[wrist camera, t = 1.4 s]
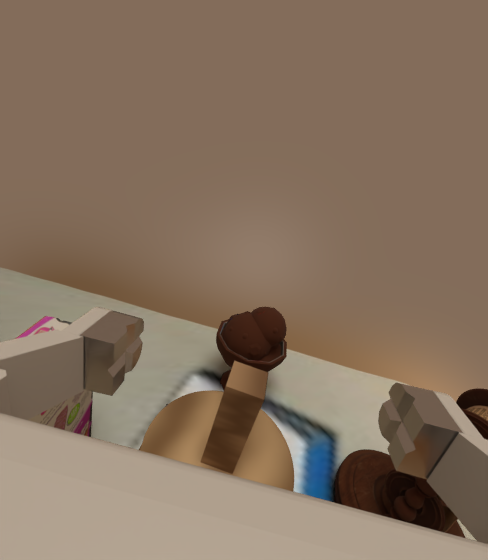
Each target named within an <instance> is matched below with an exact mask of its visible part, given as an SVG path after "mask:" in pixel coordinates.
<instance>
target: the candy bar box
mask: <svg viewBox="0 0 488 560" xmlns="http://www.w3.org/2000/svg"><path fill="white" fill-rule="evenodd" d="M70 324H72V323H71V322H67V321H60V319H58V318H54V317H48V316H45V317H43V318H42V319H41V320H39V321H38V322H37V323H35V324H34V325H33V326H32V327H30V328H29V329H27V330H26V331H25V332H24V333H22V334H21V335H20V336H18V337H17V338H22V337H26V336H31V335H35V334H39V333H44V332H48V331H52V330H59V331H62V330H63V329H64V328H66V327H67V326H69V325H70ZM17 338H16V339H17ZM92 392H93V391H89V390H83V391H82V392H80V393H79V394H77V395H75V396H73V397H71V398H69V399H67V400H65V401H63V402H61V403H59V404H57V405H56V406H54V407H52V408H50V409H48V410H46V411H44V412H42V413H40V414H38V415H36V416H35V417H33V418H31V419H29V421H32V422H36V423H40V424H44V425H47V426H51V427H55V428H58V429H62V430H66V431H70V432H73V433H77V434H81V435H84V436H88V437H91V423H92V394H93V393H92Z"/></svg>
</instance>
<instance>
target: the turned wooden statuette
mask: <svg viewBox="0 0 488 560" xmlns="http://www.w3.org/2000/svg"><path fill="white" fill-rule="evenodd" d="M456 404H457V405H458V406H459V407H460V409H461V410H462V411H463V412H464V414H465V415H466V416H467V418H468V419H469V420H470V421H471V423H472V424H473V425H474V427H475V428H476V429H477V430H478V432H479V433H480V434H481V435H482V437H483V438H484V439H486V440H488V390H487V389H472V390H468V391H466V392H464V393H463V394H461V395H460V396H459V398H458V400H457V402H456ZM334 502H335V503H337V504H341V505H345V506H348V507H352V508H356V509H359V510H363V511H367V512H370V513H374V514H378V515H381V516H385V517H389V518H392V519H396V520H400V521H404V522H407V523H411V524H415V525H418V526H422V527H426V528H429V529H433V530H437V531H440V532H444V533H448V534H452V535H455V536H459V537H463V538H465V536H464V534H463V531H462V529H461V528H460V526H459V524H458V522H457V519H458V518H457V517H456V515H455V514H454V513H453V512H452V511H451V510H450V508H449V507H448V506H447V505H446V504H445V502H444V501H443V500H442V499H441V498H440V496H439V495H438V494H437V493H436V492H435V491H434V489H433V488H432V487H431V486H430V485H429V483H428V482H427V479H423V478H420V477H416V476H413V475H410V474H406V473H403V472H399V471H396V469H395V467H394V464H393V462H392V459H391V457H390V455H388V454H385V453H382V452H379V451H375V450H358V451H355V452H353V453H351V454H350V455H348V456H347V457H346V458H345V460H344V461H343V462H342V464H341V465H340V467H339V469H338V471H337V475H336V480H335V496H334Z"/></svg>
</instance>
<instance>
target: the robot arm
mask: <svg viewBox="0 0 488 560" xmlns="http://www.w3.org/2000/svg"><path fill="white" fill-rule="evenodd" d="M143 330H144V321H143V319H142V318H138V317H135V316H131V315H127V314H124V313H120V312H116V311H112V310H109V309H105V308H101V307H95V308H93V309H92V310H90V311H89V312H87V313H86V314H84V315H83V316H82V317H80V318H79V319H77V320H76V321H74V322H73V323H72V324H70V325H69V326H67V327H66V328H64V329H63V330H62V331H59V330H52V331H48V332H44V333H39V334H35V335H31V336H26V337H22V338H17V339H13V340H9V341H4V342H0V560H488V440H486V439H484V438H483V437H482V435H481V434H480V433H479V432H478V430H477V429H476V428H475V427H474V425H473V424H472V423H471V421H470V420H469V419H468V418H467V416H466V415H465V414H464V412H463V411H462V410H461V409H460V407H459V406H458V405H457V404H456V402H455V401H454V400H453V398H452V397H450V396H449V395H447V394H445V393H440V392H436V391H431V390H425V389H421V388H417V387H412V386H408V385H404V384H400V383H395V384H394V385H393V386H392V387H391V389H390V391H389V395H390V398H391V399H390V400H388V401H386V402H385V403H383V405H382V407H381V409H380V411H379V419H378V422H379V428H380V431H381V434H382V436H383V437H384V438H385V439H386V440H387V441H388V442H389V443H390V444H389V446H388V452H389V454H390V457H391V459H392V462H393V464H394V467H395V469H396V471H399V472H403V473H406V474H410V475H413V476H416V477H420V478H423V479H427V482H428V483H429V485H430V486H431V487H432V488H433V489H434V491H435V492H436V493H437V494H438V495H439V496H440V498H441V499H442V500H443V501H444V502H445V504H446V505H447V506H448V507H449V508H450V510H451V511H452V512H453V513H454V514H455V515H456V517H457V518H458V519H459V520H460V521H461V523H462V524H463V525H464V526H465V527H466V529H467V530H468V531H469V532H470V533H471V534H472V536H473V537H474V538H475V539H476V540H477V541H474V540H470V539H467V538H463V537H459V536H455V535H452V534H448V533H444V532H440V531H437V530H433V529H429V528H426V527H422V526H418V525H415V524H411V523H407V522H404V521H400V520H396V519H392V518H389V517H385V516H381V515H378V514H374V513H370V512H367V511H363V510H359V509H356V508H352V507H348V506H345V505H341V504H337V503H333V502H330V501H326V500H322V499H319V498H315V497H311V496H308V495H304V494H300V493H296V492H293V491H289V490H285V489H282V488H278V487H274V486H270V485H267V484H263V483H259V482H255V481H252V480H248V479H244V478H241V477H237V476H233V475H229V474H226V473H222V472H218V471H215V470H211V469H207V468H203V467H200V466H196V465H192V464H188V463H185V462H181V461H177V460H174V459H170V458H166V457H162V456H159V455H155V454H151V453H148V452H144V451H140V450H136V449H133V448H129V447H125V446H122V445H118V444H114V443H110V442H107V441H103V440H99V439H96V438H92V437H88V436H84V435H81V434H77V433H73V432H70V431H66V430H62V429H58V428H55V427H51V426H47V425H44V424H40V423H36V422H32V421H29V419H31V418H33V417H35V416H36V415H38V414H40V413H42V412H44V411H46V410H48V409H50V408H52V407H54V406H56V405H57V404H59V403H61V402H63V401H65V400H67V399H69V398H71V397H73V396H75V395H77V394H79V393H80V392H82V391H83V390H89V391H93V392H97V393H102V394H106V395H110V396H112V395H113V394H114V393H115V391H116V390H117V389H118V388H119V386H120V385H121V384H122V382H123V381H124V375H125V373H127V372H129V371H132V369H133V368H134V367H135V365H136V363H137V361H138V359H139V357H140V354H141V350H142V341H141V339H140V337H139V335H140V334H141V333H142V332H143Z"/></svg>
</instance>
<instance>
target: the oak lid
mask: <svg viewBox="0 0 488 560" xmlns="http://www.w3.org/2000/svg"><path fill="white" fill-rule="evenodd" d="M267 377H268V372H265V371H263V370H260V369H257V368H254V367H251V366H248V365H245V364H243V363H240V362H237V361H234V363H233V366H232V369H231V372H230V375H229V378H228V381H227V384H226V387H225V390H224V392H222V391H199V392H194V393H190V394H187V395H185V396H182V397H180V398H178V399H176V400H174V401H173V402H171V403H170V404H168V405H167V406H166V407H165V408H164V409H162V410H161V411H160V412H159V414H158V415H157V416H156V417H155V418H154V420H153V421H152V423H151V424H150V426H149V428H148V430H147V432H146V434H145V437H144V440H143V443H142V445H141V447H140V449H139V450H140V451H144V452H148V453H151V454H155V455H159V456H162V457H166V458H170V459H174V460H177V461H181V462H185V463H188V464H192V465H196V466H200V467H203V468H207V469H211V470H215V471H218V472H222V473H226V474H229V475H233V476H237V477H241V478H244V479H248V480H252V481H255V482H259V483H263V484H267V485H270V486H274V487H278V488H282V489H285V490H289V491H293V488H294V468H293V462H292V457H291V454H290V450H289V448H288V445H287V443H286V441H285V439H284V437H283V435H282V433H281V431H280V430H279V428H278V427H277V425H276V424H275V423H274V422H273V421H272V419H271V418H270V417H269V416H268V415H267V414H266V413H265V412H264V411H262V410H261V409H260V408H261V406H262V404H263V401H264V397H265V391H266V384H267Z"/></svg>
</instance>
